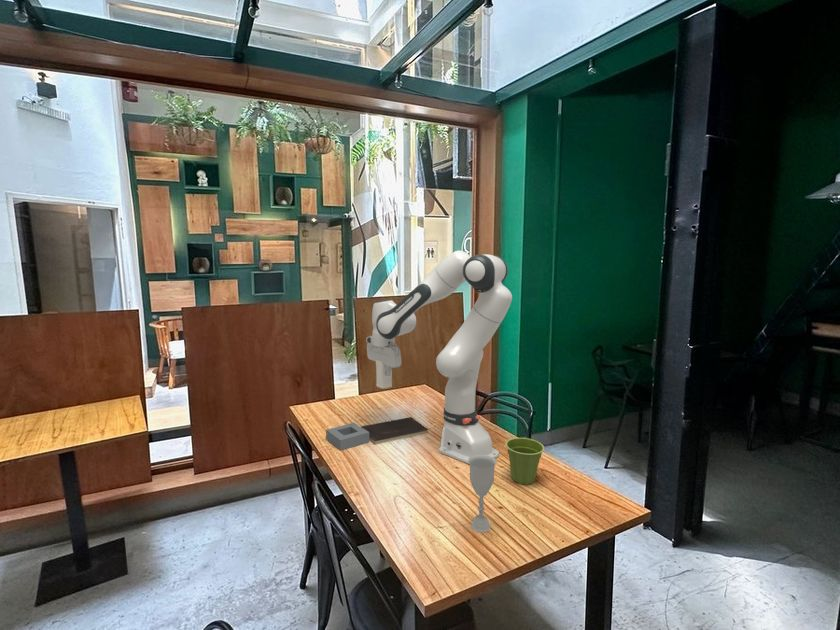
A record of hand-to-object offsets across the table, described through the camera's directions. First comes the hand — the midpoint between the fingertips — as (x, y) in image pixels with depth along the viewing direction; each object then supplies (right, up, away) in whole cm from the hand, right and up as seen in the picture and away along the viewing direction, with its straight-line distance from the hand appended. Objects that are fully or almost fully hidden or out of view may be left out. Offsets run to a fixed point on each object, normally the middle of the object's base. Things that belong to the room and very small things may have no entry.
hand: (384, 374), depth 173 cm
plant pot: (+47, -28, -37) cm, 66 cm away
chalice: (+30, -31, -61) cm, 75 cm away
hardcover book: (+4, -24, 0) cm, 24 cm away
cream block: (0, -5, +1) cm, 5 cm away
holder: (-13, -24, -9) cm, 29 cm away
